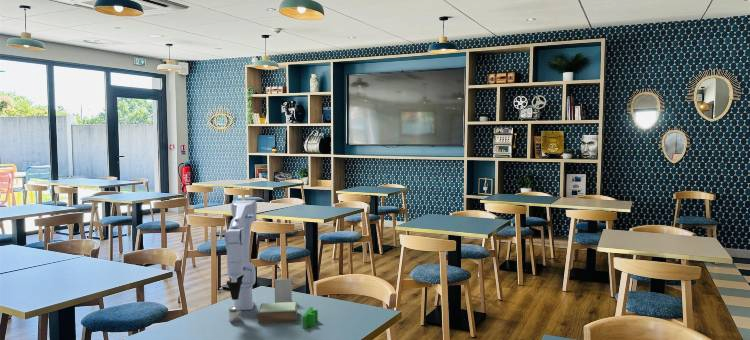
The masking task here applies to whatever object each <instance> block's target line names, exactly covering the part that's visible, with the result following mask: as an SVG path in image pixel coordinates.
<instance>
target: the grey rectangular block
mask: <svg viewBox="0 0 750 340" xmlns="http://www.w3.org/2000/svg"><path fill="white" fill-rule="evenodd" d="M281 302H293V284H292V278H279V279H277V278H276V279H274V303H281Z"/></svg>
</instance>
